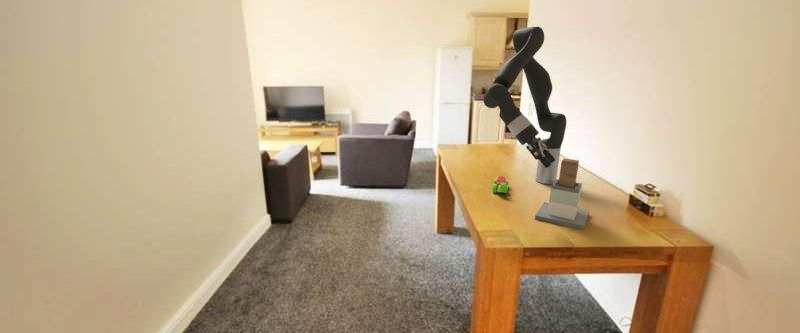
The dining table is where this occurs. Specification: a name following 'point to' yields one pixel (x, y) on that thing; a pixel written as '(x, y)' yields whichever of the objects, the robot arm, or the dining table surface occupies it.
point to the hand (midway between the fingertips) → (551, 164)
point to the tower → (563, 207)
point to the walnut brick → (568, 173)
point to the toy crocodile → (500, 185)
